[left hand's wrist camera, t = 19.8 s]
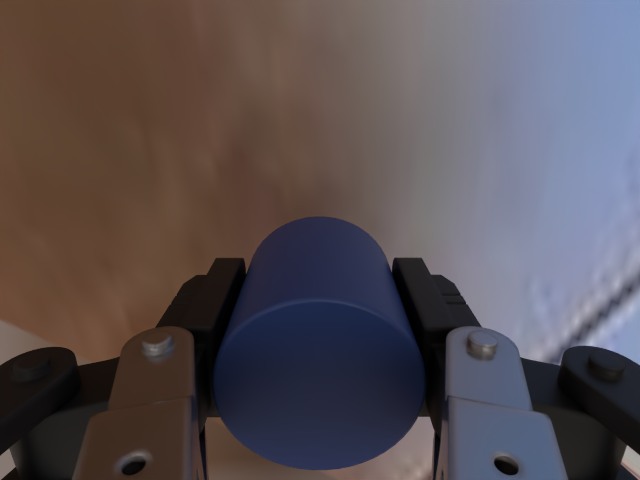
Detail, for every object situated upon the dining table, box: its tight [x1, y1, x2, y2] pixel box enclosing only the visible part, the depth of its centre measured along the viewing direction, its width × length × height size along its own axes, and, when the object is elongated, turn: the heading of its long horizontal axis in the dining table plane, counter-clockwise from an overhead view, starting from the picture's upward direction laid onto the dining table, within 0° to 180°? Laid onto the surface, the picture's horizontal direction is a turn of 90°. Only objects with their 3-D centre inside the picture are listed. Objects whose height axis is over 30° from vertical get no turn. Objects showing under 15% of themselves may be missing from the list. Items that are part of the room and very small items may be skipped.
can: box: [212, 217, 427, 470], centre depth 10 cm, size 4×4×5 cm
